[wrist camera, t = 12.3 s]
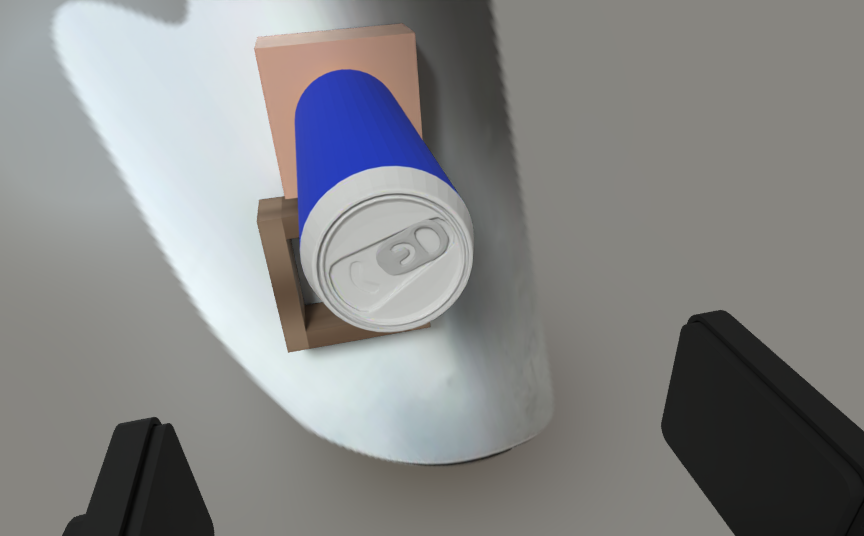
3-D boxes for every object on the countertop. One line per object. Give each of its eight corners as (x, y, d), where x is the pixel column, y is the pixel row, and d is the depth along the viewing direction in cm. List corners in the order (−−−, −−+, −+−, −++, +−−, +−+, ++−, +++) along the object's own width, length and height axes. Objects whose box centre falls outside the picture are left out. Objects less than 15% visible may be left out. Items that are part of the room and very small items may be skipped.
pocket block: (259, 199, 33) (256, 221, 31) (410, 178, 35) (420, 198, 32) (288, 324, 38) (288, 352, 36) (421, 301, 39) (430, 327, 37)
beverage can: (334, 187, 30) (367, 368, 18) (272, 104, 28) (260, 248, 15) (416, 134, 30) (512, 281, 17) (362, 45, 27) (428, 140, 15)
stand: (257, 37, 29) (254, 48, 26) (402, 23, 30) (415, 32, 27) (285, 175, 33) (285, 199, 30) (413, 158, 34) (425, 179, 31)
